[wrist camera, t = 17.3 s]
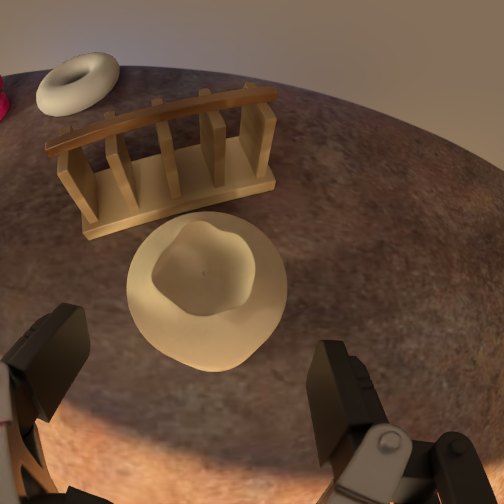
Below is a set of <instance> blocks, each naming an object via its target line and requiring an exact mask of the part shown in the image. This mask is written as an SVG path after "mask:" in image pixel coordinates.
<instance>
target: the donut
mask: <svg viewBox="0 0 504 504" xmlns="http://www.w3.org/2000/svg"><path fill="white" fill-rule="evenodd" d="M119 71H120V67H119V64H118V62H117V61H116V59H115V58H114V57H113V56H111V55H108V54H106V53H99V52H95V53H88V54H83V55H79V56H76V57H74V58H72V59H69V60H67V61H65V62H63V63H62V64H60V65H59V66H57V67H56V68H55V69H53V70H52V71H51V72H50V73H49V74H48V75H47V76H46V77H45V78H44V79H43V80H42V82H41V84H40V86H39V88H38V90H37V93H36V100H37V106H38V107H39V109H40V110H41V111H43V112H44V113H45V114H47V115H51V116H57V117H59V116H67V115H71V114H74V113H77V112H80V111H82V110H84V109H87V108H89V107H91V106H93V105H94V104H95V103H97V102H98V101H100V100H101V99H103V98H104V97H105V96H106V95H107V94H108V93H109V92H110V91H111V90H112V89H113V87H114V86H115V84H116V82H117V81H118V78H119Z"/></svg>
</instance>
